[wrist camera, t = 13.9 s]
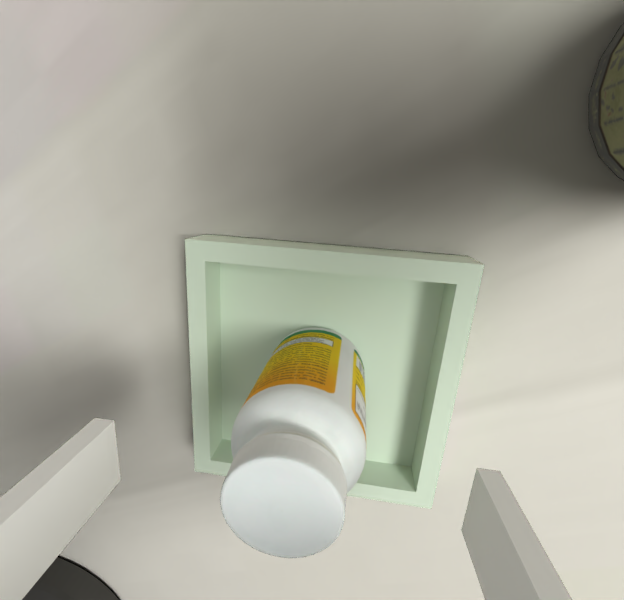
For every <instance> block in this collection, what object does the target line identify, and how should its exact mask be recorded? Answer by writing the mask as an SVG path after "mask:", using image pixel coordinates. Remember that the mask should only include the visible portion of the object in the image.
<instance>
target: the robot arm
mask: <svg viewBox="0 0 624 600" xmlns="http://www.w3.org/2000/svg"><path fill="white" fill-rule="evenodd" d="M120 481H121V476H120V467H119V458H118V449H117V440H116V431H115V422H114V420H108V419H100V418H94V419H93V420H92V421H91V422H90V423H88V424H87V425H86V426H85V427H84V428H82V429H81V430H80V431H79V432H78V433H76V434H75V435H74V436H73V437H72V438H71V439H69V440H68V441H67V442H66V443H65V444H63V445H62V446H61V447H60V448H59V449H57V450H56V451H55V452H54V453H53V454H52V455H50V456H49V457H48V458H47V459H46V460H44V461H43V462H42V463H41V464H40V465H38V466H37V467H36V468H35V469H34V470H33V471H31V472H30V473H29V474H28V475H27V476H25V477H24V478H23V479H22V480H21V481H19V482H18V483H17V484H16V485H15V486H14V487H12V488H11V489H10V490H9V491H8V492H6V493H5V494H4V495H3V496H2V497H0V600H119V599H118V598H117V597H116V596H115V595H114V594H113V593H112V591H111V590H110V589H109V588H107V587H106V586H105V585H104V584H103V583H102V582H101V581H99V580H98V579H97V578H95V577H94V576H93V575H91V574H90V573H88V572H87V571H85V570H83V569H82V568H80V567H78V566H76V565H74V564H72V563H70V562H68V561H65V560H63V559H60V558H57V557H58V556H59V554H60V553H61V552H62V551H63V549H64V548H65V547H66V546H67V545H68V543H69V542H70V541H71V540H72V539H73V537H74V536H75V535H76V534H77V533H78V531H79V530H80V529H81V528H82V527H83V525H84V524H85V523H86V522H87V520H88V519H89V518H90V517H91V516H92V514H93V513H94V512H95V511H96V510H97V508H98V507H99V506H100V505H101V504H102V502H103V501H104V500H105V499H106V497H107V496H108V495H109V494H110V493H111V491H112V490H113V489H114V488H115V487H116V485H117V484H118V483H119V482H120ZM462 533H463V536H464V539H465V542H466V545H467V548H468V551H469V554H470V557H471V560H472V562H473V565H474V568H475V571H476V574H477V577H478V580H479V583H480V586H481V589H482V592H483V595H484V598H485V600H572V598H571V597H570V595H569V593H568V591H567V589H566V588H565V586H564V584H563V582H562V580H561V579H560V577H559V575H558V573H557V572H556V570H555V568H554V566H553V564H552V563H551V561H550V559H549V557H548V556H547V554H546V552H545V550H544V548H543V547H542V545H541V543H540V541H539V539H538V538H537V536H536V534H535V532H534V531H533V529H532V527H531V525H530V523H529V522H528V520H527V518H526V516H525V515H524V513H523V511H522V509H521V507H520V506H519V504H518V502H517V500H516V498H515V497H514V495H513V493H512V491H511V490H510V488H509V486H508V484H507V482H506V481H505V479H504V477H503V475H502V474H501V472H500V471H496V470H488V469H481V468H477V469H476V473H475V477H474V481H473V485H472V489H471V493H470V497H469V501H468V506H467V510H466V514H465V518H464V522H463V526H462Z"/></svg>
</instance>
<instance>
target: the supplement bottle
mask: <svg viewBox="0 0 624 600" xmlns="http://www.w3.org/2000/svg"><path fill="white" fill-rule="evenodd" d="M231 450H232V455H233V461H232V464H231V467H230V469H229V471H228V473H227V476H226V478H225V480H224V483H223V486H222V490H221V496H220V503H221V509H222V513H223V516H224V518H225V520H226V522H227V524H228V525H229V527H230V528H231V530H232V531H233V532H234V533H235V534H236V536H238V537H239V538H240V539H241V540H242V541H243V542H245V543H246V544H248V545H249V546H251V547H252V548H255V549H257V550H258V551H260V552H263V553H266V554H269V555H273V556H278V557H284V558H300V557H307V556H310V555H313V554H316V553H318V552H321V551H322V550H324V549H326V548H327V547H329V546H330V545H331V544H332V543H333V542H334V541H335V540H336V538H337V537H338V536H339V534H340V532H341V530H342V527H343V523H344V519H345V507H346V496H347V493H348V492H349V491H350V490H351V489H352V488H353V487H354V485H355V484H356V483H357V481H358V479H359V477H360V476H361V473H362V471H363V468H364V464H365V459H366V400H365V372H364V364H363V360H362V358H361V355H360V353H359V351H358V350H357V348H356V347H355V346H354V344H353V343H352V342H351V341H350V340H349V339H347V338H346V337H345V336H343V335H342V334H340V333H338V332H336V331H334V330H330V329H325V328H317V327H311V328H304V329H300V330H297V331H295V332H293V333H291V334H289V335H288V336H286V337H285V338H284V339H283V340H282V341H281V342H280V343H279V344H278V346H277V347H276V349H275V350H274V352H273V354H272V356H271V357H270V359H269V361H268V362H267V364H266V366H265V368H264V369H263V371H262V373H261V375H260V376H259V378H258V380H257V382H256V383H255V385H254V387H253V389H252V390H251V392H250V394H249V396H248V397H247V399H246V401H245V403H244V404H243V406H242V408H241V410H240V411H239V413H238V415H237V417H236V420H235V422H234V425H233V429H232V434H231Z"/></svg>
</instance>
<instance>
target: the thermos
mask: <svg viewBox="0 0 624 600" xmlns="http://www.w3.org/2000/svg"><path fill="white" fill-rule="evenodd" d="M589 130H590V133H591V135H592V138H593V141H594V144H595V147H596V149H597V152H598V155H599V157H600V158H601V159H602V160H603V161H604V162H605V163H606V165H607V166H608V167H609V168H610V169H611V170H612V171H613V172H614V173H615V174H616V176H617V177H618V178H621V179H623V180H624V23H623V24H622V25H621V27H620V28H619V30H618V32H617V33H616V35H615V36H614V38H613V40H612V41H611V43H610V45H609V46H608V48H607V49H606V51H605V53H604V54H603V56H602V57H601V59H600V62H599V65H598V68H597V71H596V75H595V78H594V81H593V84H592V88H591V91H590V94H589Z"/></svg>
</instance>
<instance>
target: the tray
mask: <svg viewBox="0 0 624 600" xmlns="http://www.w3.org/2000/svg"><path fill="white" fill-rule="evenodd" d="M185 257H186V280H187V303H188V326H189V349H190V372H191V396H192V419H193V442H194V465H195V471H196V472H202V473H209V474H215V475H221V476H227V473H228V471H229V469H230V467H231V464H232V461H233V455H232V450H231V434H232V429H233V425H234V422H235V420H236V417H237V415H238V413H239V411H240V410H241V408H242V406H243V404H244V403H245V401H246V399H247V397H248V396H249V394H250V392H251V390H252V389H253V387H254V385H255V383H256V382H257V380H258V378H259V376H260V375H261V373H262V371H263V369H264V368H265V366H266V364H267V362H268V361H269V359H270V357H271V356H272V354H273V352H274V350H275V349H276V347H277V346H278V344H279V343H280V342H281V341H282V340H283V339H284V338H285V337H286V336H288V335H289V334H291V333H293V332H295V331H297V330H300V329H304V328H311V327H317V328H325V329H330V330H334V331H336V332H338V333H340V334H342V335H343V336H345V337H346V338H347V339H349V340H350V341H351V342H352V343H353V344H354V346H355V347H356V348H357V350H358V351H359V353H360V355H361V358H362V360H363V364H364V372H365V400H366V459H365V464H364V468H363V471H362V473H361V476H360V477H359V479H358V481H357V483H356V484H355V485H354V487H353V488H352V489H351V490H350V491H349V492H348V493H347V496H353V497H359V498H365V499H372V500H378V501H384V502H390V503H397V504H403V505H409V506H416V507H422V508H428V509H432V504H433V500H434V495H435V490H436V486H437V481H438V477H439V472H440V467H441V463H442V458H443V454H444V449H445V444H446V440H447V435H448V431H449V426H450V422H451V417H452V412H453V408H454V403H455V399H456V394H457V389H458V385H459V380H460V376H461V371H462V366H463V362H464V357H465V353H466V348H467V343H468V339H469V334H470V330H471V325H472V320H473V316H474V311H475V307H476V302H477V297H478V293H479V288H480V284H481V279H482V274H483V270H484V264H482V263H480V262H478V261H476V260H474V259H472V258H471V257H469V256H463V255H451V254H439V253H427V252H415V251H403V250H391V249H379V248H367V247H355V246H343V245H331V244H319V243H307V242H295V241H283V240H271V239H259V238H247V237H235V236H223V235H211V234H205V235H200V236H196V237H192V238H187V239H185Z"/></svg>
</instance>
